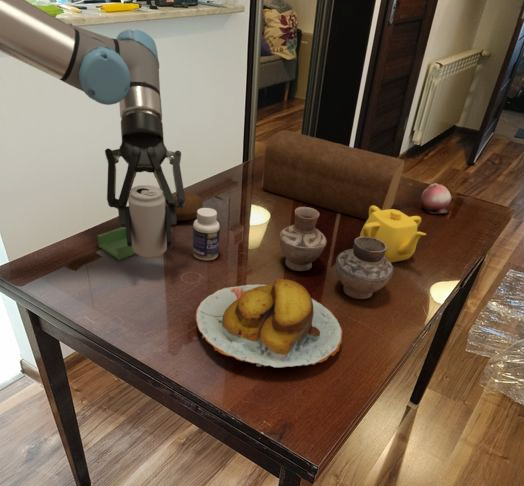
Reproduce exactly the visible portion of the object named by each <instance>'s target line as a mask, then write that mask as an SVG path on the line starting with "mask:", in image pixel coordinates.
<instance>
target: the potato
mask: <svg viewBox="0 0 524 486" xmlns="http://www.w3.org/2000/svg"><path fill="white" fill-rule="evenodd" d="M184 195H185V205H184V207H182V208H181V207H180V208H177V209H176V219H177V222H183V221H184V222H185V221H186V222H187V221H191V220H195V219H197V210H198V209H200V208H204V202H203V200H202V198H201V197H200V196H199V195H198V194H196V193H189V192H184ZM173 198H174V200H175V199H177V195H175V196H173Z"/></svg>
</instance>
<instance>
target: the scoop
mask: <svg viewBox="0 0 524 486" xmlns="http://www.w3.org/2000/svg"><path fill="white" fill-rule="evenodd" d="M96 236H97V237H96V238H97V244H98V245H97V246H98V248H100V249H101V250H103V251H105V252H106V253H107V254H109V255H111V256H112V257H114V258H115V259H117V260H118V261H121V260H123V259H126V258H128V257H131V256H133V255H137V254H136V253H135V252H134V251H133V248H132V246H128V245H127V236H126V227H121V226H120V227H117V228H115V229H112V230H110V231H106V232H103V233H100V234H97V235H96ZM131 239H132V237H131Z"/></svg>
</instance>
